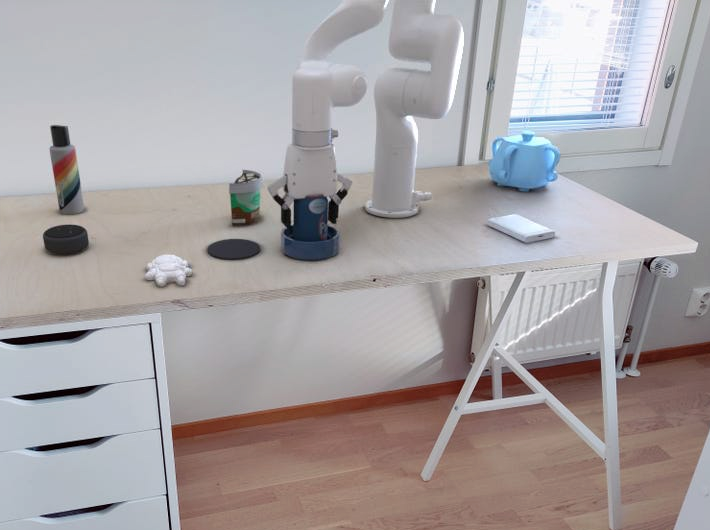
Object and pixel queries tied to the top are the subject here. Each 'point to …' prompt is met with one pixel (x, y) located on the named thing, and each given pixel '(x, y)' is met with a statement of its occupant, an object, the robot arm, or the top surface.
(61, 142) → the lotion bottle
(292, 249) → the bowl
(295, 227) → the soda can
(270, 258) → the top surface
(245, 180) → the food container
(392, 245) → the top surface
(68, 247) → the smart speaker
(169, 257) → the astronaut figurine
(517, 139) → the decorative pot
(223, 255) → the coaster
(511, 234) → the hard drive
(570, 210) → the top surface
